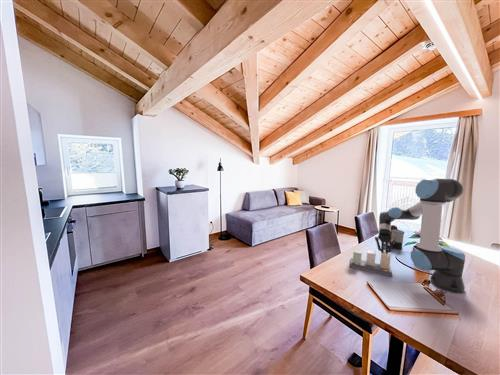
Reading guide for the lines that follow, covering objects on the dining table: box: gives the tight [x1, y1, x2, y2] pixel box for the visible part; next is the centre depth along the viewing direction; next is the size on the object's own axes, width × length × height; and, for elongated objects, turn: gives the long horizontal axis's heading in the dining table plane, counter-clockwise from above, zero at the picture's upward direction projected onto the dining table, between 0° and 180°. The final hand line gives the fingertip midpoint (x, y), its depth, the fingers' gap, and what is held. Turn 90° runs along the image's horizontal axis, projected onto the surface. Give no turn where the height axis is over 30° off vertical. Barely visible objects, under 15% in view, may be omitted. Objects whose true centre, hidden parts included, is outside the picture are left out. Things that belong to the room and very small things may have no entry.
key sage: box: [352, 249, 363, 265], centre depth 147 cm, size 4×5×9 cm
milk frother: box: [384, 229, 405, 251], centre depth 179 cm, size 14×16×15 cm
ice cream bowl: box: [391, 224, 399, 231], centre depth 197 cm, size 11×11×15 cm
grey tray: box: [349, 257, 394, 278], centre depth 146 cm, size 12×25×3 cm, turn 62°
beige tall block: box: [379, 252, 391, 270], centre depth 143 cm, size 4×5×9 cm
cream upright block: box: [365, 249, 377, 266], centre depth 147 cm, size 4×5×9 cm
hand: (384, 260), depth 146 cm, fingers closed
